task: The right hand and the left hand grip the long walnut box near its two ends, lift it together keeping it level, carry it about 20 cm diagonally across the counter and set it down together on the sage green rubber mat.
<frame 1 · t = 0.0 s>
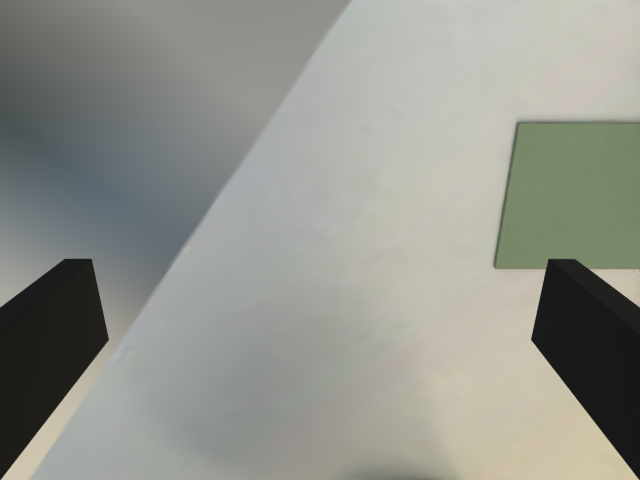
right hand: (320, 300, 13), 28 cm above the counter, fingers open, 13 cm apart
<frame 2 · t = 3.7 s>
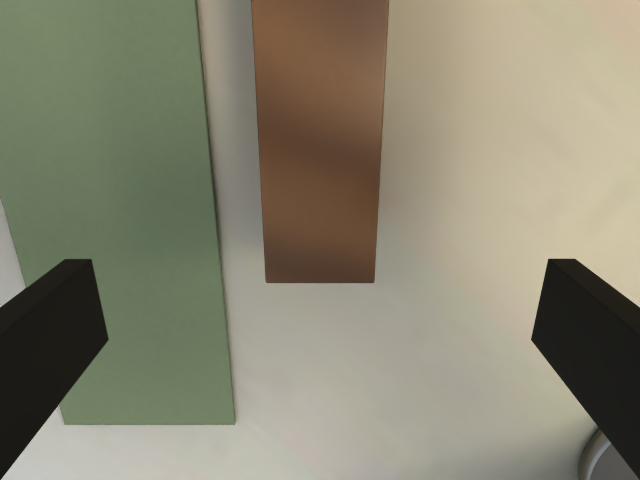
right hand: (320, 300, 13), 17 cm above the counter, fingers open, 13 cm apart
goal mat: (113, 215, 29), on the counter
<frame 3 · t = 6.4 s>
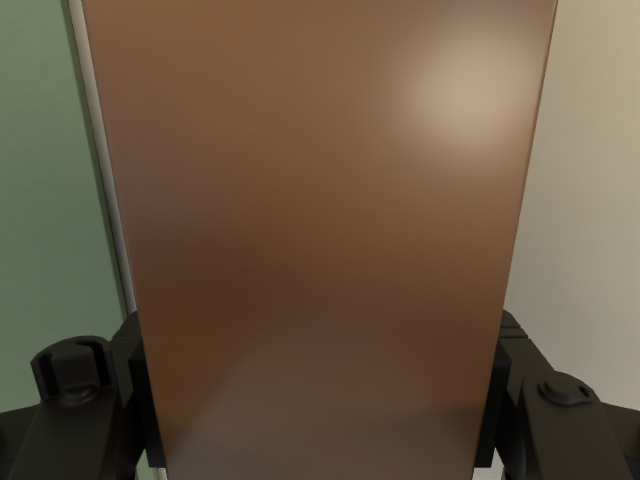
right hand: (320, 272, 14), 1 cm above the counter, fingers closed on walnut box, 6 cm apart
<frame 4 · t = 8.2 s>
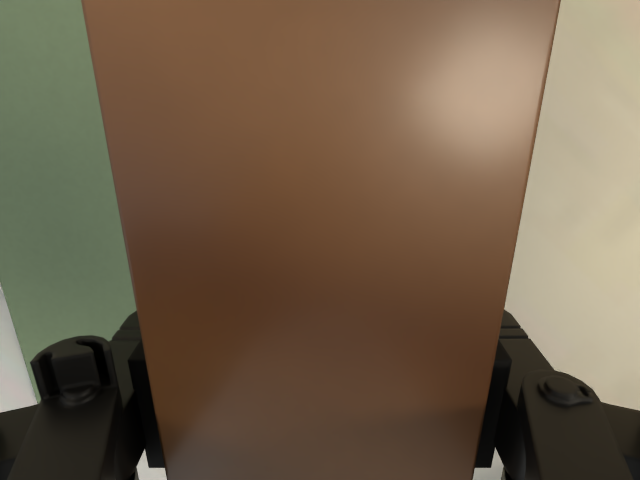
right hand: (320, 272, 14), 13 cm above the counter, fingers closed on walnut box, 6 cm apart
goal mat: (98, 224, 27), on the counter
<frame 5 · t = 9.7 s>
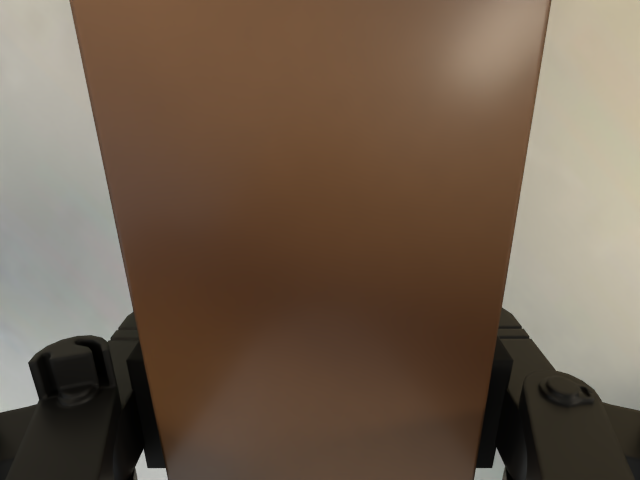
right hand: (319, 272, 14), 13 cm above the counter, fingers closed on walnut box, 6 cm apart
when the left hand's fingers open (2 cm above the counter, at t = 12.9 s): walnut box drops 1 cm, resting on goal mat.
when the right hand's fingers open (2 cm above the counter, at t = 12.9 s): walnut box drops 1 cm, resting on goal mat.
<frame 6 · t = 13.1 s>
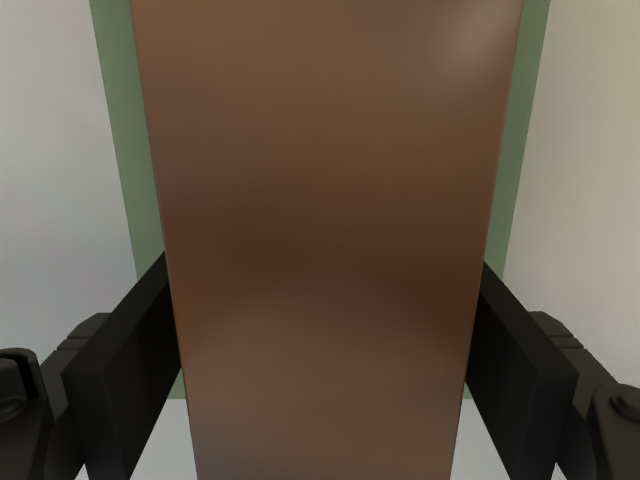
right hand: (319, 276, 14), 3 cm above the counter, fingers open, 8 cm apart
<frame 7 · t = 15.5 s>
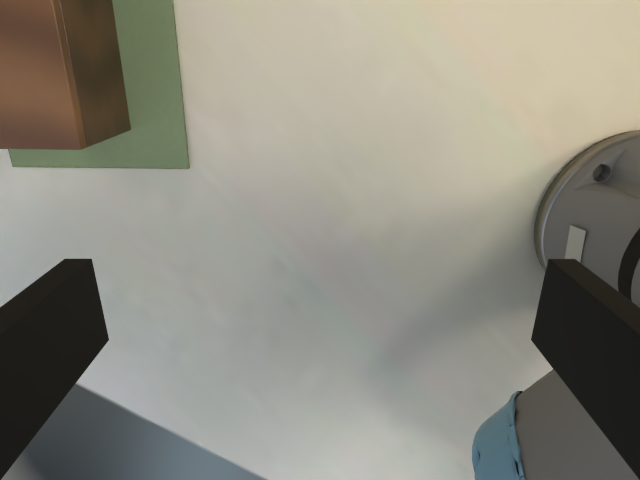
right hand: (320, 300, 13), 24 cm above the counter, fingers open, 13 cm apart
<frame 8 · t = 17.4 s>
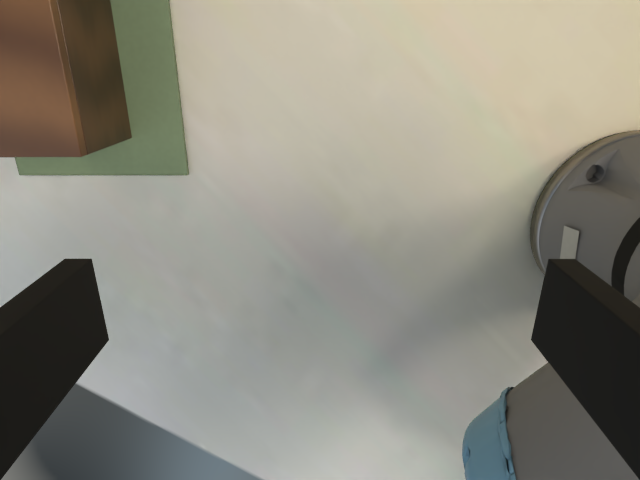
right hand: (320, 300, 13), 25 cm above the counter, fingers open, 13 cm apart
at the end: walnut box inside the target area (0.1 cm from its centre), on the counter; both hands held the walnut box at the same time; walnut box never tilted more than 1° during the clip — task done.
